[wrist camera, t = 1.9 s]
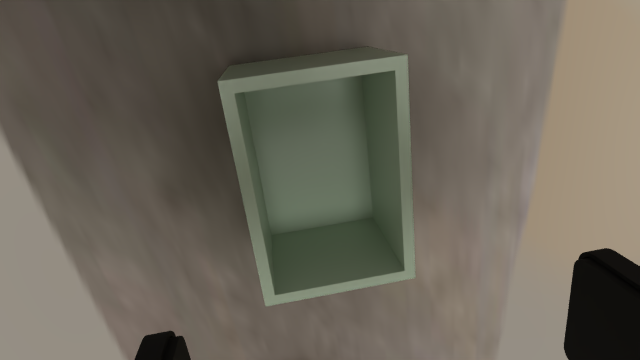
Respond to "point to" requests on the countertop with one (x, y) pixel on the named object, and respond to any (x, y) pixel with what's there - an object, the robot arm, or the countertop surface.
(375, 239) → the small crate
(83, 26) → the countertop surface
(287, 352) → the countertop surface
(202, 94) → the countertop surface
